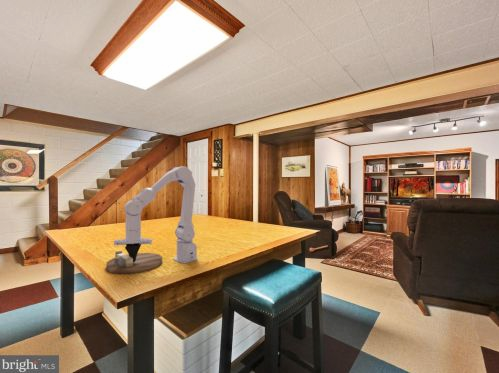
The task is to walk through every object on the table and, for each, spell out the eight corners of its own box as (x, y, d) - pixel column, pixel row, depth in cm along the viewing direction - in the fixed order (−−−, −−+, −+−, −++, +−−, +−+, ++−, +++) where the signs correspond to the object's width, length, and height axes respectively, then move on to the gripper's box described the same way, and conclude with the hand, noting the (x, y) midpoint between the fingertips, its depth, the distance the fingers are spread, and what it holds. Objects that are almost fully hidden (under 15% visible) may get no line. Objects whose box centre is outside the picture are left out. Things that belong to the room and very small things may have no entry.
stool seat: (171, 264, 105) (171, 252, 105) (118, 278, 88) (119, 265, 88) (147, 254, 119) (147, 244, 119) (98, 265, 102) (98, 253, 102)
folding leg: (114, 259, 103) (114, 251, 103) (120, 258, 105) (121, 250, 105) (126, 267, 94) (126, 258, 94) (133, 265, 96) (133, 257, 96)
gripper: (153, 227, 103) (154, 257, 104) (118, 227, 101) (119, 259, 102) (149, 230, 96) (149, 263, 97) (111, 231, 94) (111, 264, 95)
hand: (133, 261), depth 99 cm, fingers closed
